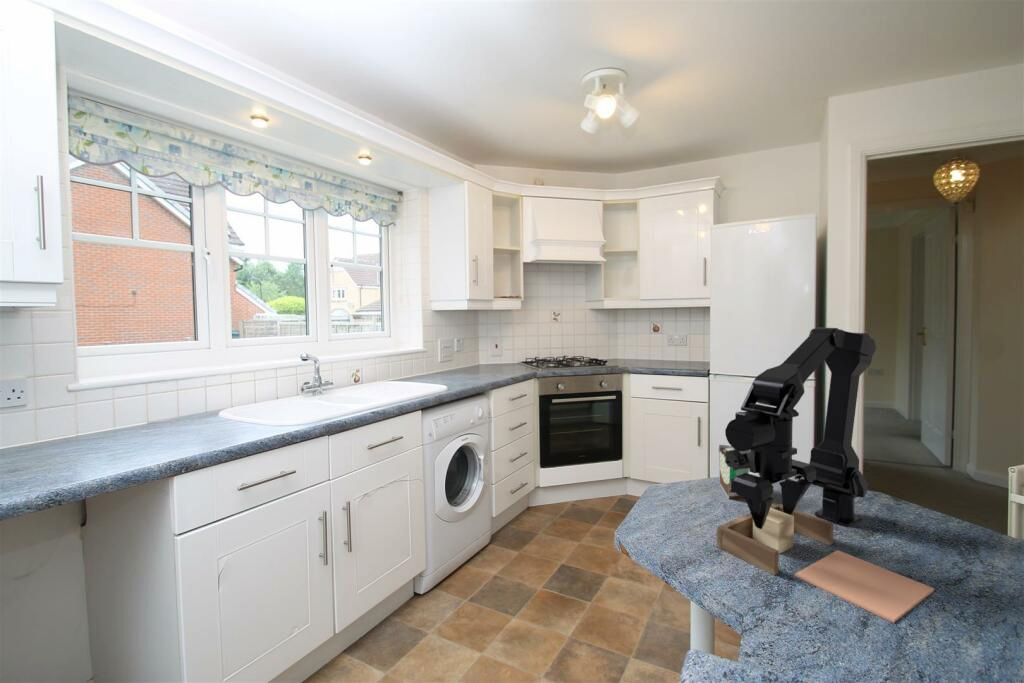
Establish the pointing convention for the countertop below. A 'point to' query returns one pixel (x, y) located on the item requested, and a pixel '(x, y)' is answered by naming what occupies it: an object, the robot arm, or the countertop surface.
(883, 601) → the mat
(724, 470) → the food container
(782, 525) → the maple block
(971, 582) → the countertop surface
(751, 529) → the open side box
